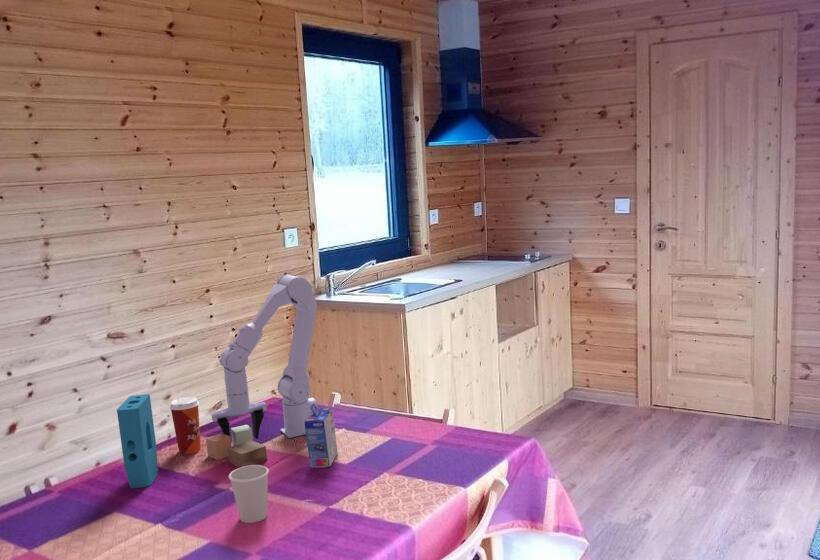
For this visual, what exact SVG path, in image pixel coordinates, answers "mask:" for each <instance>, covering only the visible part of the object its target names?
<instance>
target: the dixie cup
mask: <svg viewBox="0 0 820 560" xmlns="http://www.w3.org/2000/svg"><path fill="white" fill-rule="evenodd" d="M269 472H270V469H269V468H268V467H267V466H265V465H261V464H255V465H249V466H244V467H238V468H236V469H233V470H232V471H231V472H230V473H229V475H228V479H229V480H230V483H231V487H232V492H233V495H234V500H235V503H236V504H235V505H236V508H237V513H238V515H239V520H240V521H241V522H242V523H244V524H253V523H254V524H255V523H258V522H261V521H263V520H264V519H266V518H267V517H268V488H269V485H268V484H269V476H268V475H269Z"/></svg>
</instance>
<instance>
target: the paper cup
mask: <svg viewBox="0 0 820 560" xmlns="http://www.w3.org/2000/svg"><path fill="white" fill-rule="evenodd" d="M199 405H200V402H199V401H198V398H197V397H193V396H187V397H186V396H185V397H179V398H177V399H176V398H175V399H173V400H172V401H171V402H170V406H169V409H170V411H171V417H172V421H173V428H174V432H175V438H176V444H177V448H178V453H179V454H180V455H192V454H195V453H198V452H200V451H201V431H200V415H199V414H200V413H199V412H200V411H199Z"/></svg>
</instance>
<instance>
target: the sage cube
mask: <svg viewBox="0 0 820 560" xmlns="http://www.w3.org/2000/svg"><path fill="white" fill-rule="evenodd" d="M230 431H231V433H230V434H231V443H232V447H233V446H236V445H239V444H242V443H245V442H248V441H251V440H252V441H254V434H253V428H252V427H250V426H249V425H248V424H244V425H240V426H234V427H230Z"/></svg>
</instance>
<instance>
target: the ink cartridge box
mask: <svg viewBox="0 0 820 560" xmlns="http://www.w3.org/2000/svg"><path fill="white" fill-rule="evenodd" d="M314 407H315V408H316V409H314ZM310 409H311V410H312V411H311V413H310V414H309V416H308V417H307V419H306V420H305V422H304V423H305V431H306V434H305V437H306V445H307V451H308V452H307V453H308V459H309V468H310V469H312V468H313V469H314V468H315V469H317V468H319V469H320V468H322V469H323V468H330V467H332V464H333V462H334V460H335V459H336V456H337V455H338V444H337V443H338V442H337V437H336V435H337V434H336V429H335V428H336V427H335V419H334V413H333V407H325V408H323V407H322V408H320V407H318V408H317V407H316V405H315V404H314V403H313V404H312V406H311V407H310Z"/></svg>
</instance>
